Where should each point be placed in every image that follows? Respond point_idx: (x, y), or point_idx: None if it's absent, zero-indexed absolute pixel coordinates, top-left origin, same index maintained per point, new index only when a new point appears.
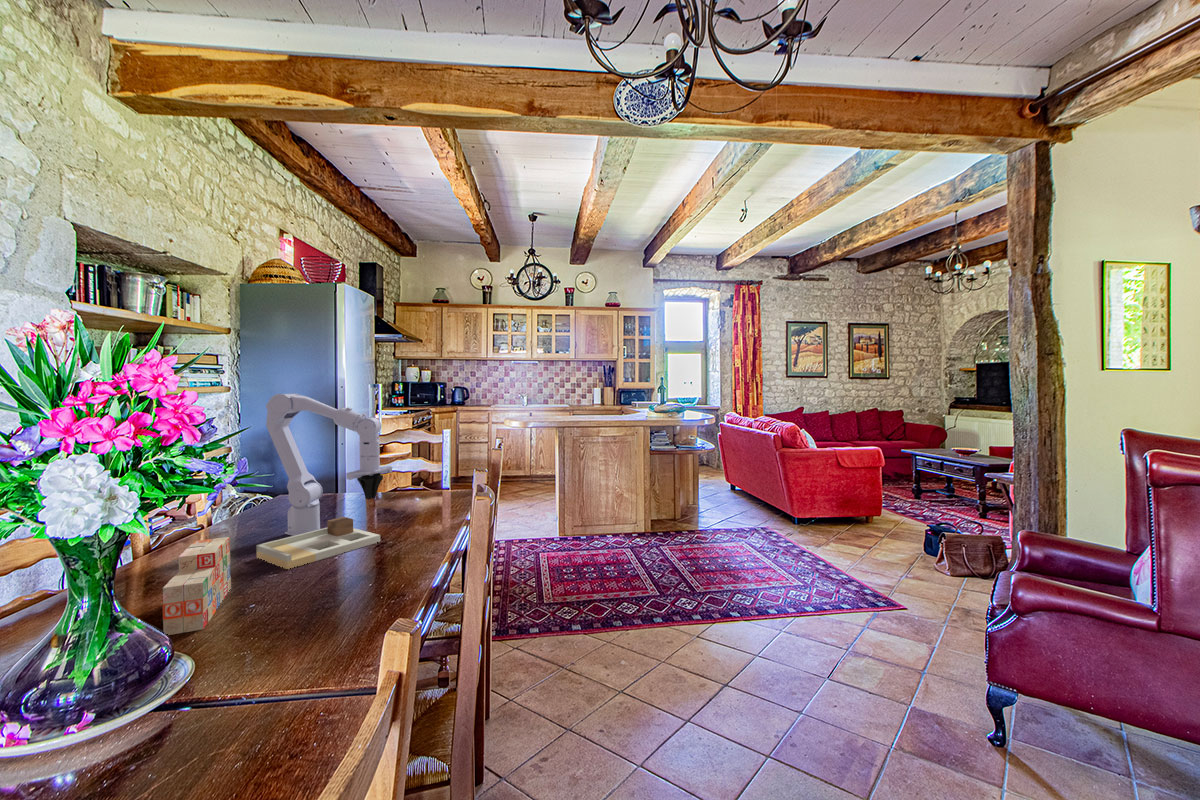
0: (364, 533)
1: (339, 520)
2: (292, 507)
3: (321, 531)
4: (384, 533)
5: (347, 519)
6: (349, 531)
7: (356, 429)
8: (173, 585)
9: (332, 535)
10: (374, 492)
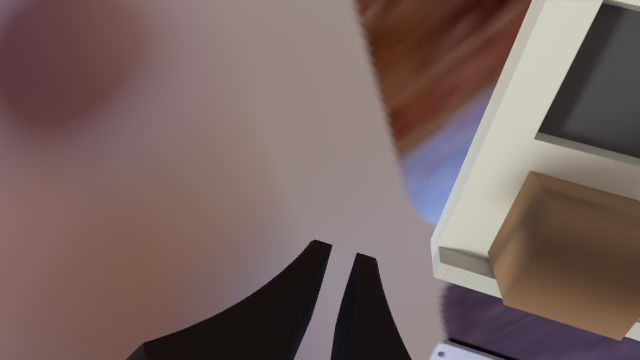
0: (549, 81)
1: (614, 273)
2: None
3: None
4: (383, 56)
5: (577, 239)
6: (559, 182)
7: None
8: None
9: None
10: (319, 274)
